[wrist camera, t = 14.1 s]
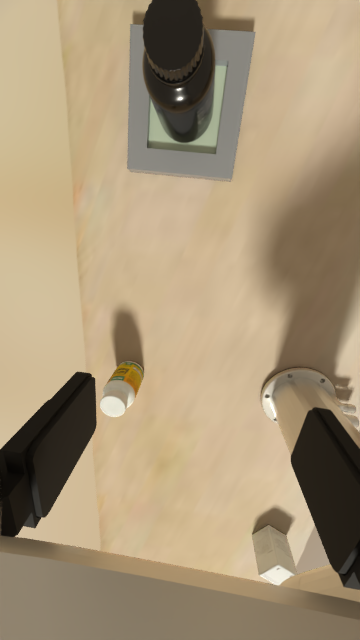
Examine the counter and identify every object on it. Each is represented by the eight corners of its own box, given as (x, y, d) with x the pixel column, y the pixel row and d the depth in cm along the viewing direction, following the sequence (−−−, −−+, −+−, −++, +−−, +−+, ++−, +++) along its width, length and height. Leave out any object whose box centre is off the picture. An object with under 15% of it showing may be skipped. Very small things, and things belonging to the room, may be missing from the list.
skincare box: (251, 534, 56) (257, 575, 49) (268, 523, 54) (278, 565, 47) (269, 545, 57) (278, 587, 50) (287, 535, 55) (299, 578, 48)
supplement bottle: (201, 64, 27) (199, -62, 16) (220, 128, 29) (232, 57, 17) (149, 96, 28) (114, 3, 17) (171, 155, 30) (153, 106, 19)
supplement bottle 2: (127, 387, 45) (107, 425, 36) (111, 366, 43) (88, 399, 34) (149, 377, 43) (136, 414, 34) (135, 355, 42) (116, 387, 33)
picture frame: (252, 43, 26) (255, 31, 25) (230, 181, 31) (231, 178, 30) (134, 36, 27) (130, 24, 26) (131, 171, 32) (127, 168, 30)
